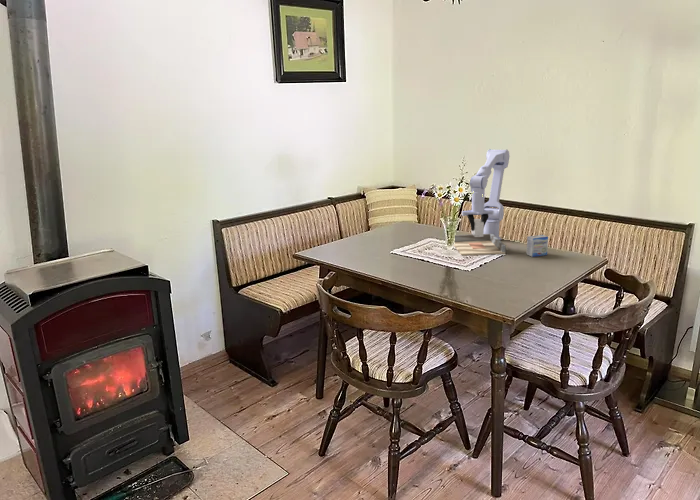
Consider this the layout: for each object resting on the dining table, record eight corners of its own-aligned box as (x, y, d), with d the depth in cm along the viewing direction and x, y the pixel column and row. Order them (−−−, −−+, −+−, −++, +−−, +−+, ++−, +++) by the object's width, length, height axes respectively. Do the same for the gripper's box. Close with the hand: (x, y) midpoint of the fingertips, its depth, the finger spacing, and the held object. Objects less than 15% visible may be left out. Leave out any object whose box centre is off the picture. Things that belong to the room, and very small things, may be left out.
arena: (451, 242, 267) (451, 235, 266) (492, 240, 267) (492, 233, 266) (461, 255, 246) (461, 247, 245) (505, 253, 246) (505, 245, 245)
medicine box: (531, 257, 239) (532, 238, 237) (526, 254, 244) (527, 236, 241) (547, 255, 241) (548, 236, 239) (541, 252, 246) (542, 234, 243)
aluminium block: (474, 237, 253) (475, 222, 251) (471, 233, 259) (471, 219, 257) (483, 236, 253) (483, 222, 251) (479, 232, 259) (480, 218, 257)
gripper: (464, 203, 248) (463, 232, 251) (495, 202, 248) (495, 231, 252) (461, 201, 254) (460, 229, 258) (491, 199, 255) (490, 227, 258)
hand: (477, 229), depth 255 cm, fingers closed on aluminium block, 4 cm apart
